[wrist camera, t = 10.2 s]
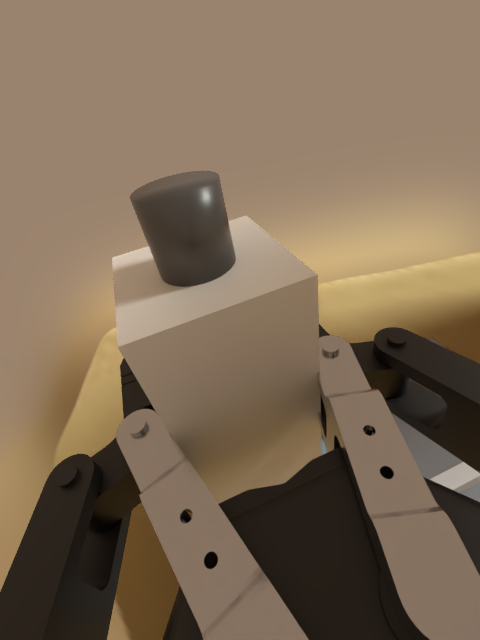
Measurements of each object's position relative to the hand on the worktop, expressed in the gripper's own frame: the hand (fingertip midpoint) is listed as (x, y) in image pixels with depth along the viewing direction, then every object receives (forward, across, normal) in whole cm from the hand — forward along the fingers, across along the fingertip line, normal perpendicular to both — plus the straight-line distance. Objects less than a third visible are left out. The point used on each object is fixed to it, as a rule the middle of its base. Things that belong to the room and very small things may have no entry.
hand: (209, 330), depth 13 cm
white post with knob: (-3, 0, +7) cm, 7 cm away
